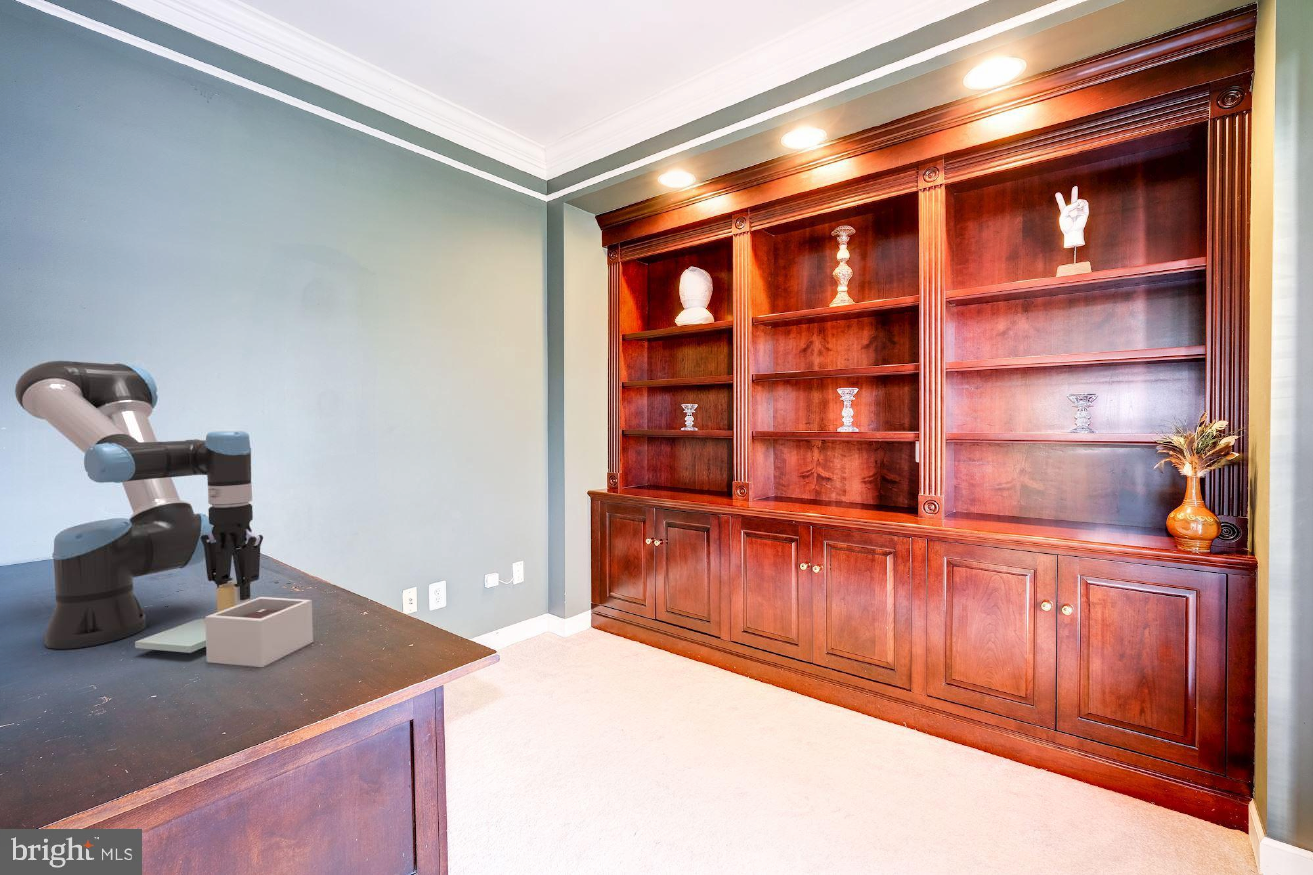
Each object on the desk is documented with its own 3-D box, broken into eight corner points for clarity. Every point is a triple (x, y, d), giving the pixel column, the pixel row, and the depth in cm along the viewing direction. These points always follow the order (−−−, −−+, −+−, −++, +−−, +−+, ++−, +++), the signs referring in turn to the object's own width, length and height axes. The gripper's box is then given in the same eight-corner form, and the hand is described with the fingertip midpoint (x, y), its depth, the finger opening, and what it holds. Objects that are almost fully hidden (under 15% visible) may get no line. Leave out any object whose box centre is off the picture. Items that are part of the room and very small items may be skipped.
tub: (206, 662, 109) (205, 616, 108) (262, 637, 120) (260, 596, 120) (262, 667, 106) (260, 620, 106) (312, 641, 118) (311, 600, 118)
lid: (135, 647, 111) (133, 606, 111) (220, 616, 128) (219, 580, 128) (190, 652, 109) (188, 610, 108) (270, 619, 126) (268, 583, 126)
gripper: (181, 506, 122) (186, 618, 123) (247, 508, 119) (251, 622, 120) (215, 500, 129) (219, 606, 130) (278, 502, 126) (281, 610, 127)
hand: (234, 614), depth 125 cm, fingers closed on lid, 3 cm apart
